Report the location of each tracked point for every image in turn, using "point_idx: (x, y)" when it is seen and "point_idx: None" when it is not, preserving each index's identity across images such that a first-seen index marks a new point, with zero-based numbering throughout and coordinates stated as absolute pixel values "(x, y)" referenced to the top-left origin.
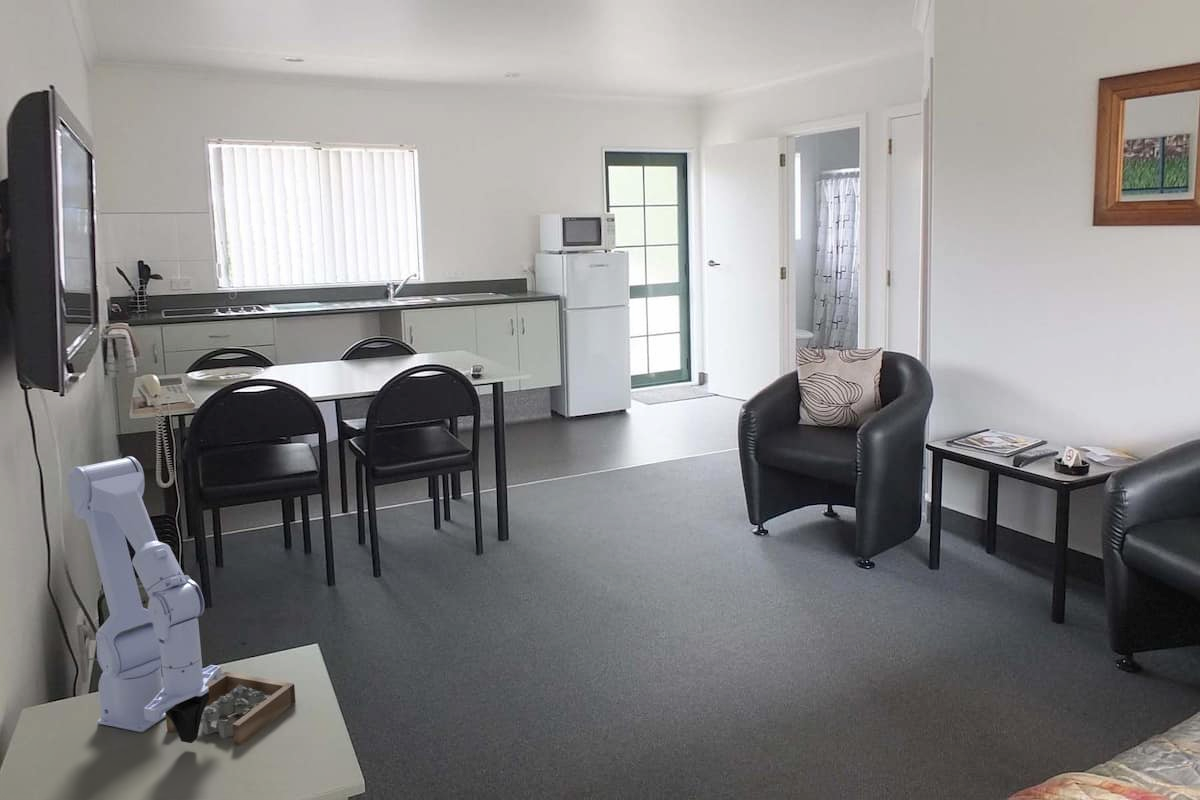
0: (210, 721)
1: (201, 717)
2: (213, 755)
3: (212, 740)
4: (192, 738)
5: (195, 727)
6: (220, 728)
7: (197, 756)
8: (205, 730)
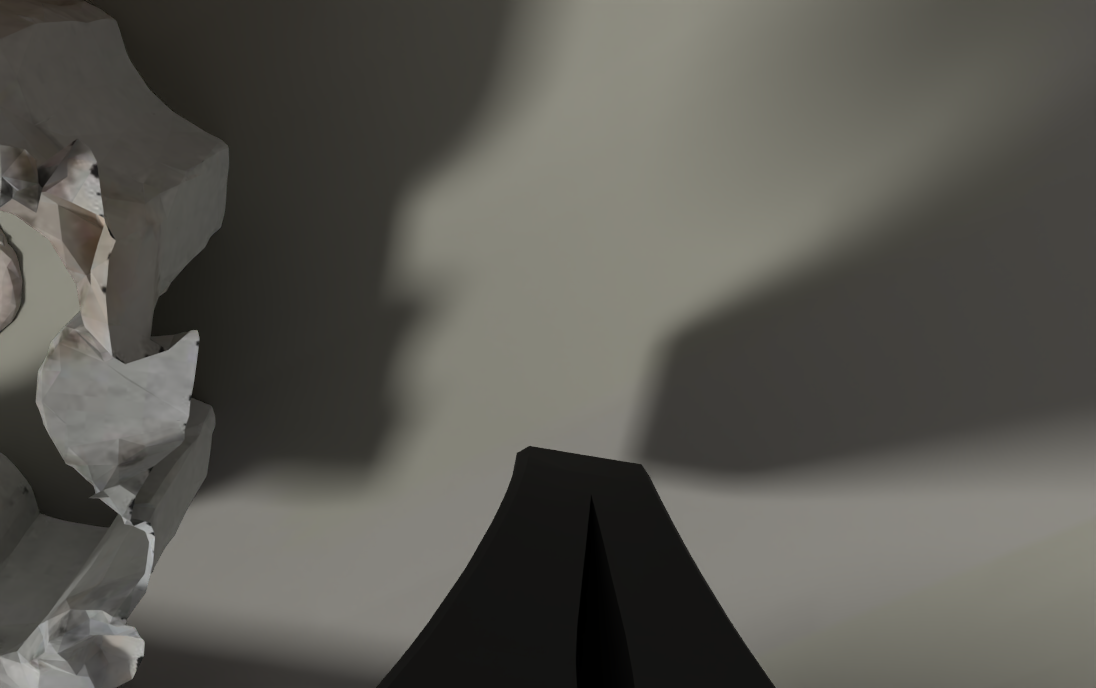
0: (128, 476)
1: (420, 641)
2: (714, 52)
3: (336, 277)
4: (645, 494)
5: (579, 583)
6: (174, 256)
7: (748, 271)
8: (198, 464)
